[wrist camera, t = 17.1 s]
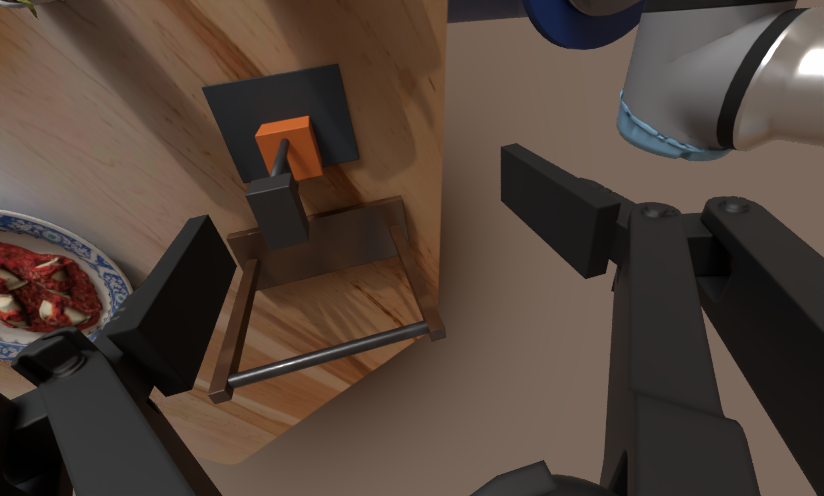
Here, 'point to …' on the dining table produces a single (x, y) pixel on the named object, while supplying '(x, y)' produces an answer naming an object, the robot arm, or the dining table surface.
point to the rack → (325, 252)
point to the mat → (283, 114)
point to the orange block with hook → (284, 180)
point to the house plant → (24, 4)
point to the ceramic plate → (52, 283)
